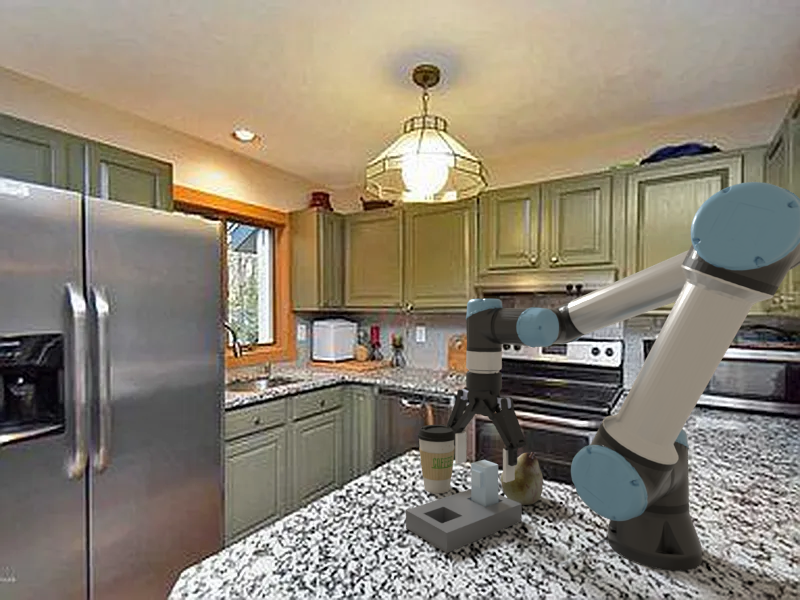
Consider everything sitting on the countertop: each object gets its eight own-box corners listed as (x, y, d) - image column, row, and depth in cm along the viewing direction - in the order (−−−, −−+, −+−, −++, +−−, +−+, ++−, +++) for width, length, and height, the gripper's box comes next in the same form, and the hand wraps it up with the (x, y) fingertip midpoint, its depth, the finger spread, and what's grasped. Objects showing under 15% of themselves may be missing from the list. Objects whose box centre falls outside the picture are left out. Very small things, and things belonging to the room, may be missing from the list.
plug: (498, 517, 95) (498, 464, 95) (482, 523, 92) (482, 469, 92) (484, 510, 98) (484, 459, 98) (468, 516, 95) (468, 463, 96)
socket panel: (521, 523, 93) (521, 503, 93) (446, 555, 80) (446, 532, 81) (478, 504, 103) (478, 486, 103) (405, 530, 90) (405, 510, 90)
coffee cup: (455, 499, 105) (455, 434, 106) (414, 496, 107) (413, 432, 108) (458, 484, 115) (458, 425, 115) (420, 481, 117) (420, 423, 117)
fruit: (540, 514, 98) (539, 458, 98) (497, 507, 101) (496, 453, 102) (545, 496, 107) (544, 445, 107) (505, 490, 111) (504, 441, 111)
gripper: (544, 376, 89) (544, 485, 88) (455, 364, 109) (455, 452, 108) (520, 379, 84) (519, 494, 84) (432, 366, 104) (431, 458, 104)
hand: (483, 471), depth 96 cm, fingers open, 13 cm apart
